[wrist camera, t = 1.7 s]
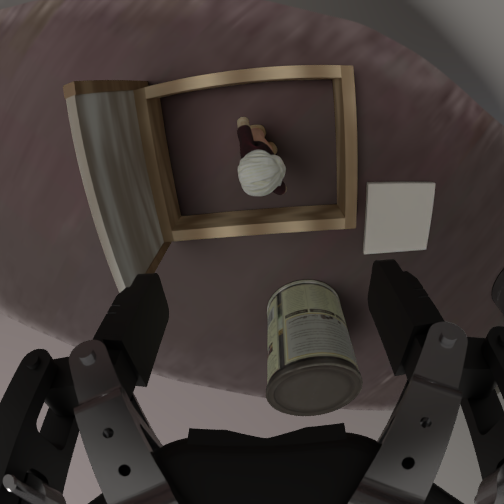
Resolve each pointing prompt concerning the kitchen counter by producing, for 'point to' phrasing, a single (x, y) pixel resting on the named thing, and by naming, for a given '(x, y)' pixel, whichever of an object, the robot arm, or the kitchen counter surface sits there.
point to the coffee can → (309, 351)
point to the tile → (397, 216)
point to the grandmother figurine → (259, 161)
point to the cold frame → (160, 172)
